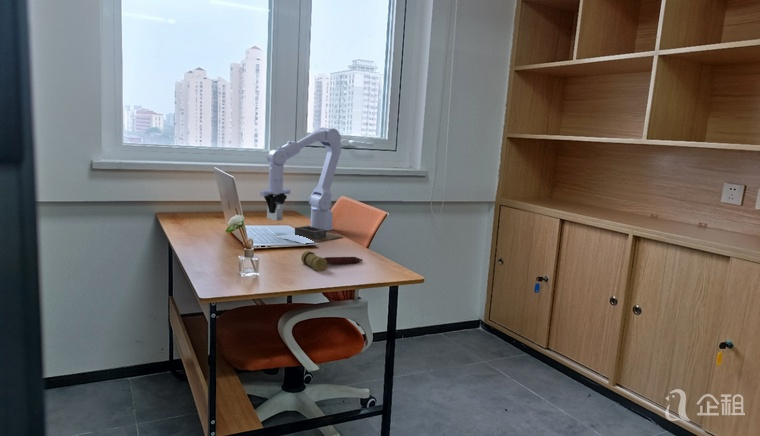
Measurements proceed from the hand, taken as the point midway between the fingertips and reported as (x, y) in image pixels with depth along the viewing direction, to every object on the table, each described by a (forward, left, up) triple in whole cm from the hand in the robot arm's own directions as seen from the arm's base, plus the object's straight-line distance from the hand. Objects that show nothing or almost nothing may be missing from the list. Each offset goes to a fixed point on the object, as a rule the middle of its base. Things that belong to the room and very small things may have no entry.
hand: (275, 212), depth 223 cm
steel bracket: (0, 0, -3) cm, 3 cm away
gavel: (+17, +50, -9) cm, 54 cm away
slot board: (-6, +15, -8) cm, 18 cm away
